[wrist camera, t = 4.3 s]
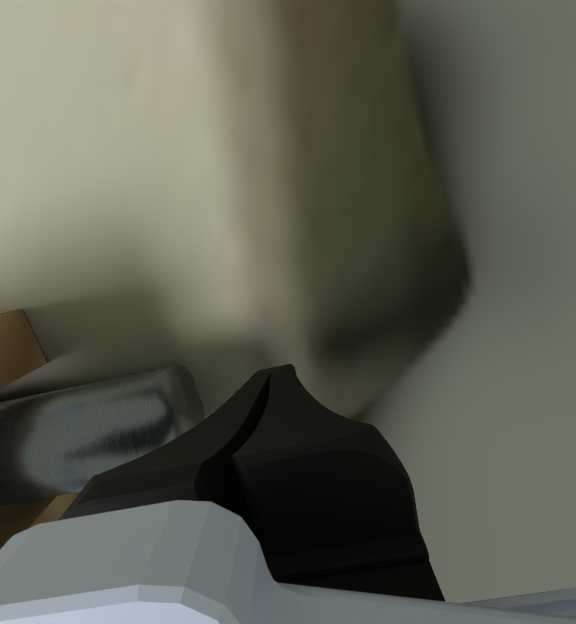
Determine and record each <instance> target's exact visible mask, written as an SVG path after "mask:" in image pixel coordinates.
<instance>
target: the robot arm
mask: <svg viewBox="0 0 576 624" xmlns="http://www.w3.org/2000/svg"><path fill="white" fill-rule="evenodd" d="M0 624H576V588H571V589H563V590H557V591H548V592H541V593H534V594H526V595H518V596H511V597H503V598H496V599H488V600H481V601H473V602H466V603H452V602H445V599H444V597H443V594H442V592H441V589H440V587H439V584H438V582H437V579H436V577H435V575H434V572H433V569H432V567H431V564H430V562H429V554H428V550H427V547H426V545H425V542H424V540H423V537H422V535H421V533H420V529H419V523H418V517H417V510H416V504H415V497H414V491H413V487H412V484H411V481H410V478H409V476H408V474H407V472H406V470H405V468H404V466H403V465H402V463H401V462H400V460H399V458H398V457H397V455H396V454H395V452H394V450H393V449H392V448H391V446H390V445H389V444H388V442H387V441H386V440H385V438H384V437H383V436H382V435H381V433H380V432H379V431H378V430H377V429H376V427H374V426H373V425H371V424H367V423H363V422H359V421H355V420H351V419H348V418H346V417H343V416H341V415H338V414H336V413H334V412H332V411H331V410H329V409H327V408H326V407H324V406H323V405H322V404H320V403H319V402H318V401H317V400H316V399H315V398H313V397H312V396H311V395H310V393H309V392H308V391H307V390H306V389H305V388H304V387H303V385H302V384H301V382H300V381H299V379H298V378H297V375H296V371H295V367H294V366H293V365H292V364H288V365H283V366H278V367H273V368H268V369H263V370H259V371H258V372H256V373H255V374H254V375H253V376H252V377H251V378H250V379H249V380H248V381H247V382H246V383H245V384H244V385H243V386H242V387H241V388H240V389H239V390H238V391H237V392H236V393H235V394H234V395H233V396H232V397H231V398H230V399H229V400H228V401H226V402H225V403H224V404H223V405H222V406H221V407H220V408H219V409H217V410H216V411H215V412H214V413H212V414H211V415H210V416H209V417H207V418H206V419H205V420H203V421H202V422H200V423H199V424H198V425H196V426H195V427H193V428H192V429H190V430H188V431H187V432H185V433H183V434H182V435H180V436H178V437H177V438H175V439H174V440H172V441H170V442H168V443H167V444H165V445H163V446H161V447H159V448H157V449H155V450H153V451H151V452H149V453H147V454H145V455H143V456H141V457H139V458H136V459H134V460H132V461H130V462H127V463H125V464H122V465H120V466H117V467H115V468H113V469H110V470H108V471H105V472H103V473H100V474H97V475H95V476H93V477H92V478H91V479H90V480H89V481H88V483H87V484H86V485H85V486H84V488H83V489H82V490H81V491H80V493H79V494H78V495H77V496H76V498H75V499H74V500H73V502H72V503H71V504H70V505H69V507H68V508H67V509H66V510H65V512H64V513H63V514H62V515H61V517H60V518H59V519H58V521H53V522H47V523H41V524H38V525H35V526H33V527H31V528H29V529H27V530H24V531H22V532H20V533H18V534H16V535H13V536H12V537H11V538H10V539H9V541H8V542H7V543H6V544H5V545H4V546H3V547H2V548H1V549H0Z"/></svg>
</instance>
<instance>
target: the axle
mask: <svg viewBox="0 0 576 624" xmlns="http://www.w3.org/2000/svg"><path fill="white" fill-rule="evenodd" d="M203 420H204V411H203V406H202V404H201V401H200V398H199V395H198V392H197V389H196V386H195V383H194V380H193V378H192V375H191V374H190V373H189V371H188V370H187V369H185V368H184V367H182V366H179V365H175V366H170V367H165V368H160V369H156V370H151V371H146V372H141V373H137V374H132V375H127V376H123V377H118V378H113V379H108V380H104V381H99V382H94V383H89V384H85V385H80V386H75V387H71V388H66V389H61V390H56V391H52V392H47V393H42V394H37V395H33V396H28V397H23V398H18V399H14V400H9V401H4V402H0V506H5V505H10V504H16V503H21V502H27V501H32V500H38V499H43V498H49V497H54V496H60V495H65V494H71V493H76V492H80V491H81V490H82V489H83V488H84V486H85V485H86V484H87V483H88V481H89V480H90V479H91V478H92V477H93V476H95V475H97V474H100V473H103V472H105V471H108V470H110V469H113V468H115V467H117V466H120V465H122V464H125V463H127V462H130V461H132V460H134V459H136V458H139V457H141V456H143V455H145V454H147V453H149V452H151V451H153V450H155V449H157V448H159V447H161V446H163V445H165V444H167V443H168V442H170V441H172V440H174V439H175V438H177V437H178V436H180V435H182V434H183V433H185V432H187V431H188V430H190V429H192V428H193V427H195V426H196V425H198V424H199V423H200V422H202V421H203Z"/></svg>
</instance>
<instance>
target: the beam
mask: <svg viewBox="0 0 576 624" xmlns="http://www.w3.org/2000/svg"><path fill="white" fill-rule="evenodd" d="M46 363H47V361H46V359H45V357H44V354H43V352H42V350H41V348H40V346H39V344H38V342H37V340H36V338H35V336H34V333H33V331H32V329H31V327H30V325H29V323H28V321H27V319H26V317H25V315H24V312H23V310H22V309H19V310H15V311H11V312H7V313H3V314H0V389H1V388H2V387H4V386H6V385H8V384H10V383H12V382H13V381H15V380H17V379H19V378H21V377H22V376H24V375H26V374H28V373H30V372H31V371H33V370H35V369H37V368H39V367H40V366H42V365H44V364H46ZM79 493H80V492H76V493H71V494H65V495H60V496H54V497H49V498H43V499H38V500H32V501H27V502H21V503H16V504H10V505H5V506H0V549H1V548H2V547H3V546H4V545H5V544H6V543H7V542H8V541H9V539H10V538H11V537H12V536H13V535H16V534H18V533H20V532H22V531H24V530H27V529H29V528H31V527H33V526H35V525H38V524H41V523H47V522H53V521H58V519H59V518H60V517H61V515H62V514H63V513H64V512H65V510H66V509H67V508H68V507H69V505H70V504H71V503H72V502H73V500H74V499H75V498H76V496H77V495H78V494H79Z"/></svg>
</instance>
